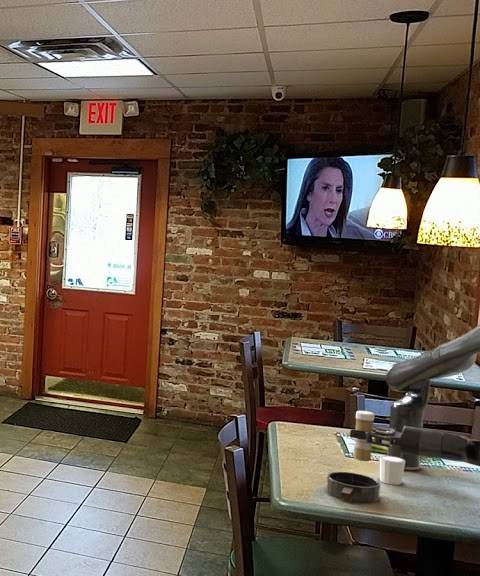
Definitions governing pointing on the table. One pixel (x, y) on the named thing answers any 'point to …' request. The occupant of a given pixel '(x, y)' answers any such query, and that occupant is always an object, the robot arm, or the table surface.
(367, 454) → the sprinkles bottle
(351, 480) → the pan
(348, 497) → the pan handle
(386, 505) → the table surface
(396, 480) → the white cup
